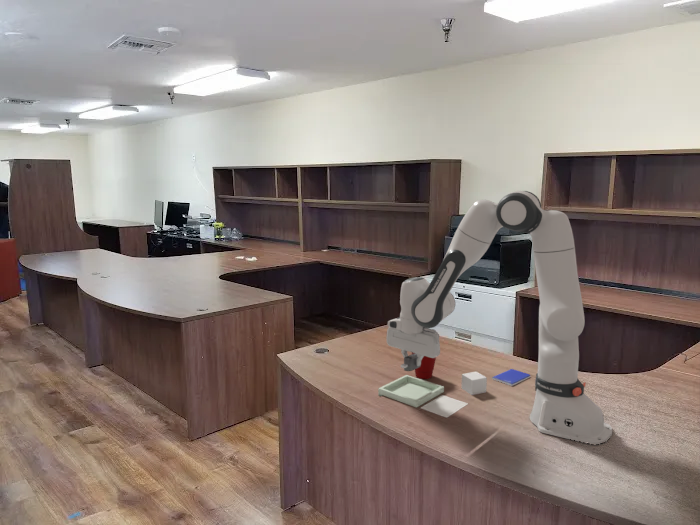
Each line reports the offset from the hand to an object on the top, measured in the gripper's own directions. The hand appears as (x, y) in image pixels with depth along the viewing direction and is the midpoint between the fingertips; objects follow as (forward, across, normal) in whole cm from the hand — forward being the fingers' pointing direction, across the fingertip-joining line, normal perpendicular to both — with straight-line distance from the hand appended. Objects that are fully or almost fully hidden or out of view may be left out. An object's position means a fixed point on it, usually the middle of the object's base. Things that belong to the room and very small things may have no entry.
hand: (412, 363), depth 170 cm
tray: (+11, 0, +1) cm, 11 cm away
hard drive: (+11, -20, -35) cm, 42 cm away
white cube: (+11, -15, -15) cm, 24 cm away
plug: (+2, 0, 0) cm, 2 cm away
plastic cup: (+11, +5, -14) cm, 19 cm away
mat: (+11, -14, +2) cm, 18 cm away
